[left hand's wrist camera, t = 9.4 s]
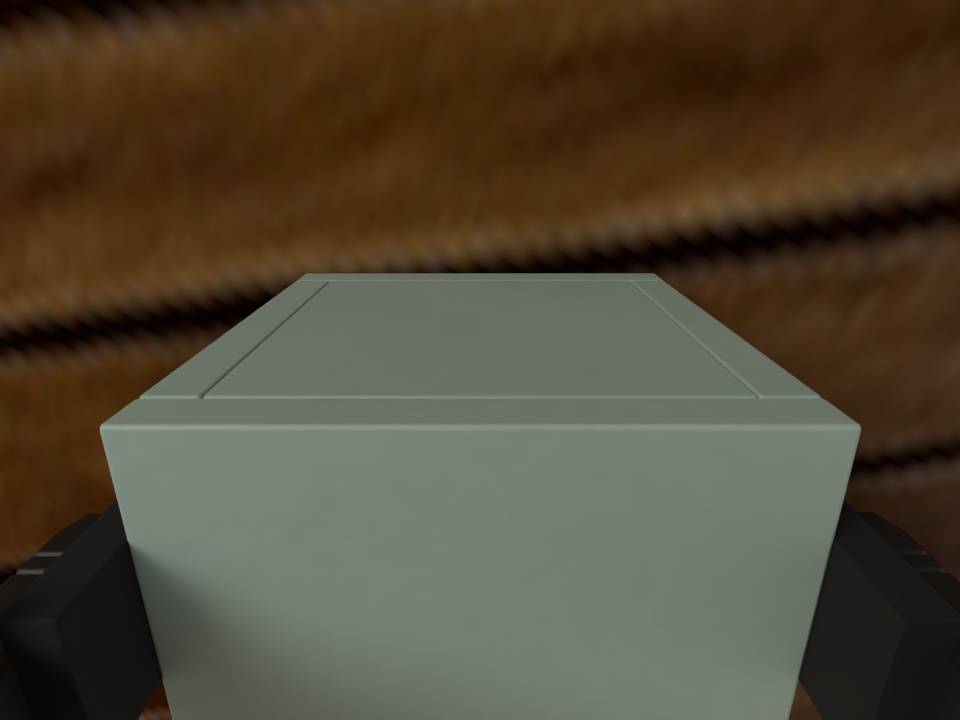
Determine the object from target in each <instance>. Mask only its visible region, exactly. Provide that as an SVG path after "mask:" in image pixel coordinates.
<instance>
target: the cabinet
mask: <svg viewBox="0 0 960 720" xmlns="http://www.w3.org/2000/svg"><path fill="white" fill-rule="evenodd" d="M860 432H861V427H860V425H859V424H858V423H857V422H855V421H854V420H852V419H851V418H850V417H848V416H847V415H846V414H844V413H843V412H842V411H840V410H839V409H837V408H836V407H835V406H833V405H832V404H831V403H829V402H828V401H827V400H824V399H821V397H820V395H818V394H817V393H816V392H814V391H813V390H811V389H810V388H809V387H807V386H806V385H805V384H803V383H802V382H801V381H799V380H798V379H796V378H795V377H794V376H792V375H791V374H790V373H788V372H787V371H786V370H784V369H783V368H781V367H780V366H779V365H777V364H776V363H775V362H773V361H772V360H771V359H769V358H768V357H767V356H765V355H764V354H762V353H761V352H760V351H758V350H757V349H756V348H754V347H753V346H752V345H750V344H749V343H747V342H746V341H745V340H743V339H742V338H741V337H739V336H738V335H737V334H735V333H734V332H732V331H731V330H730V329H728V328H727V327H726V326H724V325H723V324H722V323H720V322H719V321H718V320H716V319H715V318H713V317H712V316H711V315H709V314H708V313H707V312H705V311H704V310H703V309H701V308H700V307H698V306H697V305H696V304H694V303H693V302H692V301H690V300H689V299H688V298H686V297H685V296H683V295H682V294H681V293H679V292H678V291H677V290H675V289H674V288H673V287H671V286H670V285H668V284H667V283H666V282H664V281H663V280H662V279H661V278H659V277H658V276H657V275H655V274H653V273H468V274H467V273H466V274H305V275H304V276H303V277H301V278H300V279H299V280H298V281H296V282H295V283H293V284H292V285H291V286H289V287H288V288H287V289H285V290H284V291H283V292H281V293H280V294H278V295H277V296H276V297H274V298H273V299H272V300H270V301H269V302H268V303H266V304H265V305H264V306H262V307H261V308H259V309H258V310H257V311H255V312H254V313H253V314H251V315H250V316H249V317H247V318H246V319H244V320H243V321H242V322H240V323H239V324H238V325H236V326H235V327H234V328H232V329H231V330H230V331H228V332H227V333H225V334H224V335H223V336H221V337H220V338H219V339H217V340H216V341H215V342H213V343H212V344H210V345H209V346H208V347H206V348H205V349H204V350H202V351H201V352H200V353H198V354H197V355H195V356H194V357H193V358H191V359H190V360H189V361H187V362H186V363H185V364H183V365H182V366H181V367H179V368H178V369H176V370H175V371H174V372H172V373H171V374H170V375H168V376H167V377H166V378H164V379H163V380H161V381H160V382H159V383H157V384H156V385H155V386H153V387H152V388H151V389H149V390H148V391H147V392H145V393H144V394H142V395H141V396H140V399H137V400H134V401H133V402H132V403H130V404H129V405H128V406H126V407H125V408H124V409H122V410H121V411H119V412H118V413H117V414H115V415H114V416H113V417H111V418H110V419H109V420H107V421H106V422H104V423H103V424H102V425H101V427H100V433H101V437H102V441H103V445H104V449H105V453H106V457H107V460H108V464H109V468H110V472H111V476H112V480H113V484H114V488H115V492H116V496H117V500H118V504H119V508H120V512H121V516H122V520H123V524H124V528H125V532H126V536H127V540H128V544H129V548H130V552H131V556H132V560H133V564H134V568H135V572H136V576H137V580H138V584H139V588H140V592H141V596H142V600H143V604H144V608H145V612H146V616H147V620H148V624H149V628H150V632H151V636H152V640H153V644H154V648H155V652H156V656H157V660H158V664H159V668H160V672H161V676H162V680H163V684H164V688H165V692H166V696H167V700H168V704H169V708H170V712H171V716H172V719H173V720H788V719H789V715H790V711H791V707H792V703H793V699H794V695H795V691H796V687H797V683H798V679H799V675H800V671H801V667H802V663H803V659H804V655H805V651H806V647H807V643H808V639H809V635H810V631H811V627H812V623H813V620H814V616H815V612H816V608H817V604H818V600H819V596H820V592H821V588H822V584H823V580H824V576H825V572H826V568H827V564H828V560H829V556H830V552H831V548H832V544H833V540H834V536H835V532H836V528H837V524H838V520H839V516H840V512H841V508H842V504H843V500H844V496H845V492H846V488H847V484H848V480H849V476H850V472H851V468H852V464H853V460H854V456H855V452H856V448H857V444H858V440H859V436H860Z"/></svg>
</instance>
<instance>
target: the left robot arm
mask: <svg viewBox="0 0 960 720" xmlns="http://www.w3.org/2000/svg"><path fill="white" fill-rule="evenodd" d="M925 552H926V551H925V550H924V549H923V548H922V547H921V546H920V545H919V544H918V543H916V542H915V541H914V540H913V539H912V538H911V537H910V536H909V535H908V534H907V533H906V532H904V531H903V530H902V529H900V528H899V527H897V526H895V525H893V524H892V523H890V522H888V521H886V520H885V519H883V518H881V517H880V516H878V515H876V514H874V513H873V512H856V511H855V510H854V509H853V508H852V507H851V506H850V505H849V504H848V503H847V502H846V501H845V500H843V504H842V508H841V512H840V516H839V520H838V524H837V528H836V532H835V536H834V540H833V544H832V548H831V552H830V556H829V560H828V564H827V568H826V572H825V576H824V580H823V584H822V588H821V592H820V596H819V600H818V604H817V608H816V612H815V616H814V620H813V623H812V627H811V631H810V635H809V639H808V643H807V647H806V651H805V655H804V659H803V663H802V667H801V671H800V675H799V680H800V682H801V684H802V685H803V687H804V689H805V690H806V692H807V694H808V695H809V697H810V699H811V701H812V702H813V704H814V706H815V707H816V709H817V711H818V712H819V714H820V716H821V717H822V719H823V720H960V582H959V581H958V580H957V579H956V578H955V577H953V576H952V575H951V574H950V573H946V572H945V568H944V567H943V566H942V565H940V564H939V563H938V562H937V561H936V560H935V559H934V558H933V557H932V556H931V555H926V553H925ZM161 680H162V676H161V672H160V668H159V664H158V660H157V656H156V652H155V648H154V644H153V640H152V636H151V632H150V628H149V624H148V620H147V616H146V612H145V608H144V604H143V600H142V596H141V592H140V588H139V584H138V580H137V576H136V572H135V568H134V564H133V560H132V556H131V552H130V548H129V544H128V540H127V536H126V532H125V528H124V524H123V520H122V516H121V512H120V508H119V504H118V500H116V501H115V502H114V503H113V504H112V505H111V506H110V507H109V508H108V509H107V510H106V511H105V512H104V513H103V514H88V515H87V516H85V517H83V518H82V519H80V520H78V521H76V522H75V523H73V524H71V525H69V526H68V527H66V528H64V529H63V530H61V531H59V532H58V533H57V534H56V535H55V536H54V537H52V538H51V539H50V540H49V541H48V542H47V543H46V544H45V545H44V546H43V547H42V548H41V549H39V550H38V551H37V552H36V556H35V557H31V558H30V559H29V560H28V561H27V562H25V563H24V564H23V565H22V566H21V567H20V568H19V569H18V570H17V574H16V575H11V576H10V577H9V578H8V579H7V580H6V581H5V582H4V583H3V584H2V585H1V586H0V720H138V718H139V717H140V715H141V713H142V712H143V710H144V708H145V707H146V705H147V703H148V702H149V700H150V698H151V697H152V695H153V693H154V691H155V690H156V688H157V686H158V685H159V683H160V681H161Z"/></svg>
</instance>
